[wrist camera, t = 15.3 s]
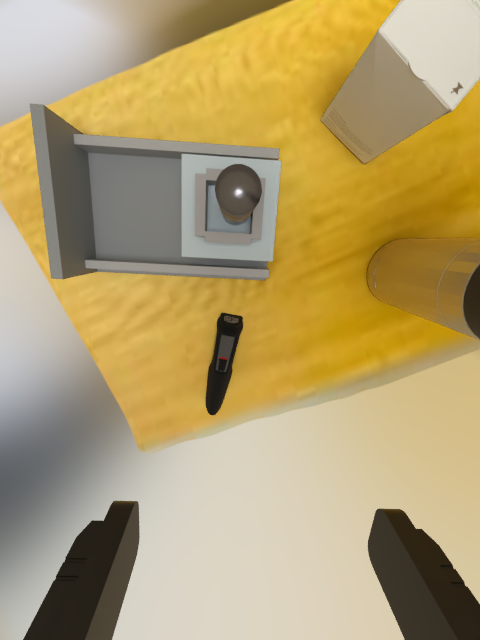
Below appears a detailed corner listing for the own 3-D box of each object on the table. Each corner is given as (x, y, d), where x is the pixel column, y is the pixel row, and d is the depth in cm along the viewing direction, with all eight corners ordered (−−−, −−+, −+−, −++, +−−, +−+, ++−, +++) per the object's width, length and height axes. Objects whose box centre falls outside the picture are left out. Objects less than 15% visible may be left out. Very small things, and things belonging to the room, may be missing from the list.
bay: (274, 152, 35) (288, 123, 27) (264, 279, 40) (274, 289, 31) (80, 138, 34) (29, 103, 26) (91, 270, 39) (51, 278, 30)
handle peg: (250, 196, 29) (263, 165, 17) (248, 226, 30) (259, 216, 18) (222, 194, 29) (215, 162, 17) (220, 224, 30) (213, 213, 18)
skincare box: (399, 123, 35) (526, 34, 20) (361, 168, 36) (453, 117, 21) (353, 71, 33) (452, -68, 18) (315, 120, 35) (378, 28, 20)
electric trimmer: (200, 402, 45) (198, 413, 42) (219, 311, 41) (218, 317, 38) (223, 405, 46) (223, 418, 43) (244, 316, 41) (245, 322, 38)
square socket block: (272, 176, 35) (286, 152, 26) (265, 258, 38) (276, 263, 29) (190, 170, 35) (176, 144, 25) (190, 254, 37) (176, 258, 28)
